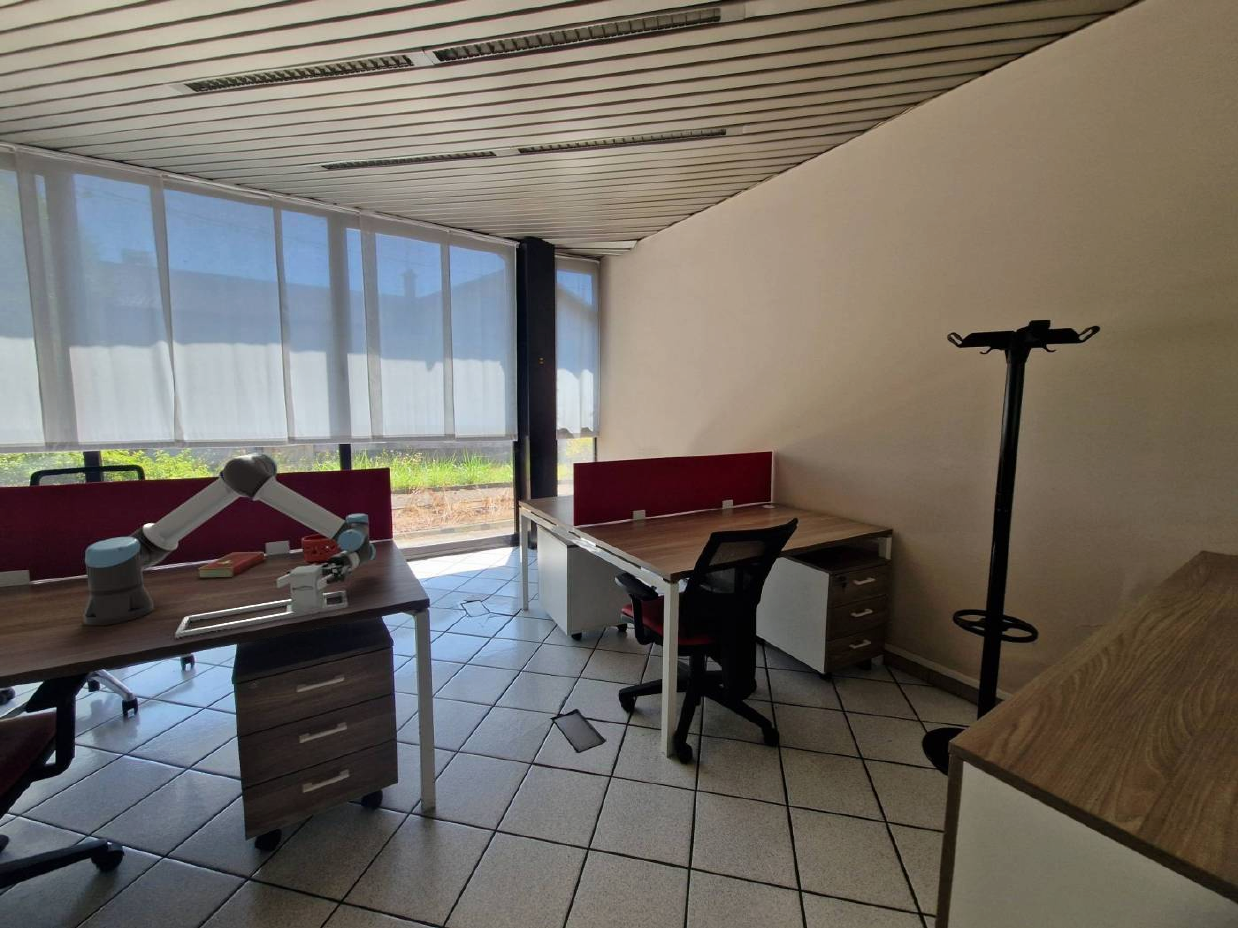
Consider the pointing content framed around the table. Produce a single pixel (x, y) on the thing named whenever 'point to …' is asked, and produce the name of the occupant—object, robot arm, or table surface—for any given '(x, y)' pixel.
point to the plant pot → (318, 549)
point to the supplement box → (306, 587)
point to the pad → (289, 609)
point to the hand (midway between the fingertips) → (297, 584)
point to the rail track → (187, 619)
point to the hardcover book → (231, 564)
